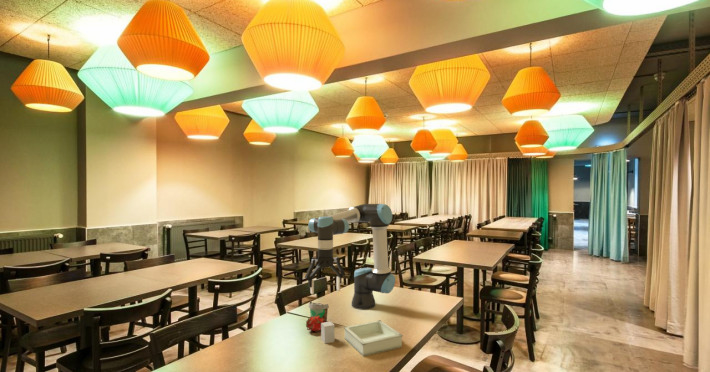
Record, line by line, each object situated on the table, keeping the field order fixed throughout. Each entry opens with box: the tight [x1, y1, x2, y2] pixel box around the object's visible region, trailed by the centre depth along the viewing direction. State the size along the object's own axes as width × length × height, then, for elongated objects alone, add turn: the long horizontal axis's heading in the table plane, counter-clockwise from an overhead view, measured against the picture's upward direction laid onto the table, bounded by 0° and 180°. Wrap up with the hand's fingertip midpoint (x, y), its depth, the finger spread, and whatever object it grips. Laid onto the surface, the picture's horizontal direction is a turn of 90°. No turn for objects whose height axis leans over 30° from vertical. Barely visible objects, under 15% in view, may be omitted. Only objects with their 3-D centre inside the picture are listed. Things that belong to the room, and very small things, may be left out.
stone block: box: [320, 321, 336, 344], centre depth 166 cm, size 5×5×8 cm
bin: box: [343, 320, 404, 357], centre depth 163 cm, size 21×21×6 cm
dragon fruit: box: [305, 315, 326, 333], centre depth 178 cm, size 8×8×12 cm
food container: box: [308, 300, 329, 322], centre depth 190 cm, size 12×6×10 cm, turn 62°
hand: (325, 292), depth 167 cm, fingers open, 13 cm apart
